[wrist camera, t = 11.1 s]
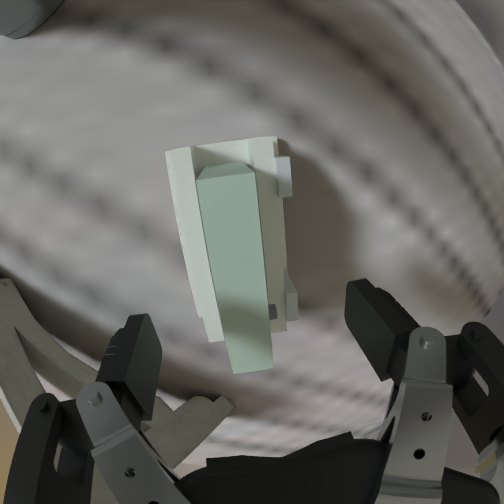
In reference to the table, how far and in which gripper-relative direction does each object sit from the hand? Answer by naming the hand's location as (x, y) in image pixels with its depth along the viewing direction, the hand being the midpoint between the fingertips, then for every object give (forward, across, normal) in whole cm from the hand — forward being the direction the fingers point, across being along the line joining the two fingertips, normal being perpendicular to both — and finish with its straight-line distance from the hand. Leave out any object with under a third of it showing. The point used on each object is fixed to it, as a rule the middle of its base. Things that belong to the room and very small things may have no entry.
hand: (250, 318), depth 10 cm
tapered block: (+11, 0, 0) cm, 11 cm away
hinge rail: (+12, 0, +1) cm, 12 cm away
